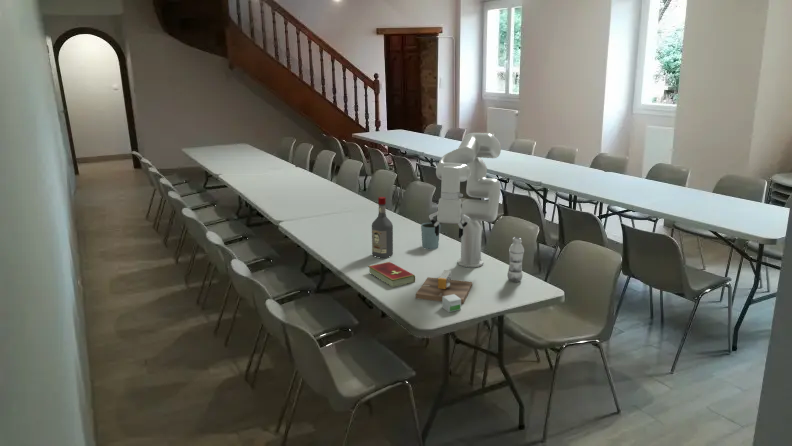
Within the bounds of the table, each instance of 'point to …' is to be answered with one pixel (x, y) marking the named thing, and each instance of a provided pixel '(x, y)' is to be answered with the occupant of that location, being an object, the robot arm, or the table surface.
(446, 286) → the white and orange box
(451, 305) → the small box
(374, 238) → the liquor
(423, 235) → the teal cup
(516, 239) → the plastic bottle
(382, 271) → the hardcover book
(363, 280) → the table surface
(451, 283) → the wooden cutting board
